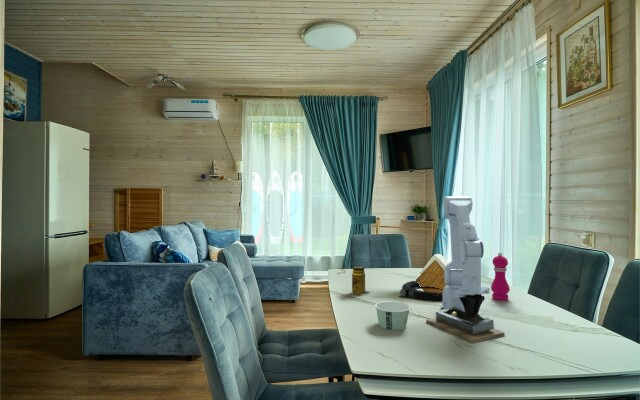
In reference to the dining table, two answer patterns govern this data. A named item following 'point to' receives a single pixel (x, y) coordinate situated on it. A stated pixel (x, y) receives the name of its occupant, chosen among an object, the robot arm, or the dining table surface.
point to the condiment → (358, 281)
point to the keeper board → (463, 335)
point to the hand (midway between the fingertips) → (471, 317)
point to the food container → (392, 314)
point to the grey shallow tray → (478, 321)
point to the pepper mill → (500, 278)
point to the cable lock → (419, 292)
